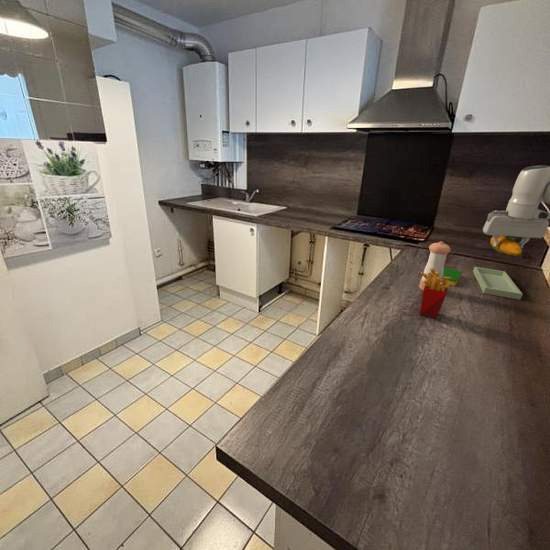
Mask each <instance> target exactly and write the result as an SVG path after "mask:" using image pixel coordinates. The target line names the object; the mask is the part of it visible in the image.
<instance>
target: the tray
mask: <svg viewBox="0 0 550 550" xmlns="http://www.w3.org/2000/svg"><path fill="white" fill-rule="evenodd" d="M472 273H473V275H474V277H475V278H476V281H477V283H478V285H479V287H480V289H481V291H482V293H483V294H486V295H491V296H496V297H503V298H506V299H507V298H508V299H514V300H522V298H523V292H522V291H521V290H520V288H519V287H518V286H517V285H516V284H515V283H514V281H513V280H512V278H511V277H510V276H509V274H508V273H507V272H506V271H505V270H499V269H492V268H487V267H486V268H485V267H479V266H474V267H473V270H472Z"/></svg>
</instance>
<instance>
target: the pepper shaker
mask: <svg viewBox="0 0 550 550" xmlns="http://www.w3.org/2000/svg"><path fill="white" fill-rule="evenodd" d="M428 250H429V257H428V260H427V262H426V265H425V268H424V269H423V272H424V273H426V274H427V276H428V273H431V274H432V272H431V270H430V269H431V268H433V269H434V271H435V272H438V273H439V277H440V281H441V280H442V277H443V271H444V268H445V263H446V259H447V255H449V254H450V252H451V247H450V245H448V244H446V243H445V242H444V241H439V242H433V243H431V244H430V245H429V247H428ZM424 280H426V279H425V277H424V276H423V275H422V277H421V278H420V281H419V285H418V288H419V289H420V290H421V291H424V287H425V283H424V282H423V281H424ZM426 281H427V280H426ZM431 281H433V279H431Z"/></svg>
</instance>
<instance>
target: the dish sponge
mask: <svg viewBox="0 0 550 550" xmlns="http://www.w3.org/2000/svg"><path fill="white" fill-rule="evenodd" d="M462 274H463V271H461V270H457V269H452V268H448V267H444V271H443V277H450V276H451V279H448V280H446V284H445V285H449V286H452V287H455V286H457V283H458V282H459V280H460V278H461V277H462ZM443 277H442V280H443ZM442 280H441V281H442Z"/></svg>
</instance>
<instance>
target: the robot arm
mask: <svg viewBox="0 0 550 550" xmlns="http://www.w3.org/2000/svg"><path fill="white" fill-rule="evenodd" d="M511 194H512V195H511V197H510V199H509V200H508V203H507V206H506V209H505V210H497V209H496V210H493V211H490V213H488V214H487V218H486V221H485V223H484V225H483V227H482V232H483V233H484V234H485V235H487V236H492V237H493V239H494V244H493V246H495V247H499V246H500V244H501V243H500V242H498V238H500V236H513V237H515V238H516V237H517V238H521V239H522V240H521V241H519V242H518V244H519V246H520V248H521V249H523V248H524V245H526V243H527V242H529V241H530V239H531V238H532V239H542V238H543V237H545V236H546V234H547V231H548V228H549V224H550V221H549V220H550V212H547V211H544V210H542V209H541V208H539V205H540V203H545V204H548V205H550V165H547V164H544V165H543V164H540V165H531V166H527V167H524V168H523V169H522V170H521V171H520V173H519V174H518V175H517V178H516V180H515V183H514V186H513V188H512V193H511Z"/></svg>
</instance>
